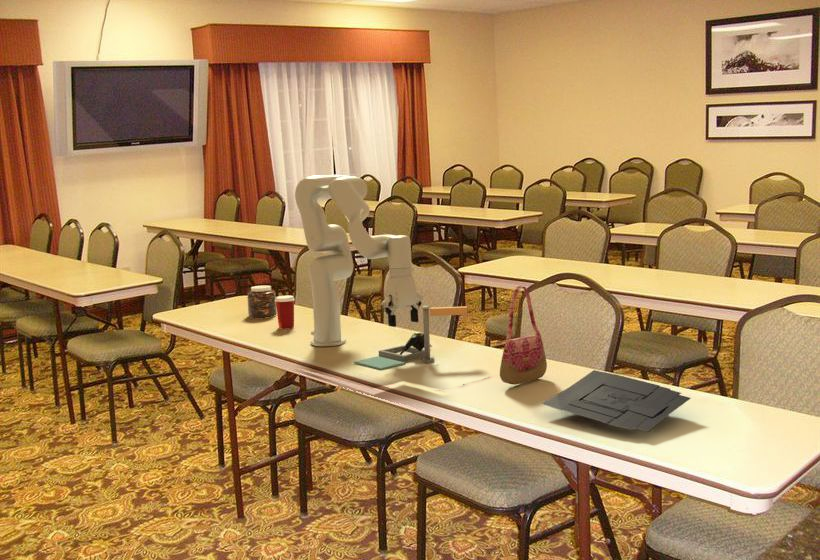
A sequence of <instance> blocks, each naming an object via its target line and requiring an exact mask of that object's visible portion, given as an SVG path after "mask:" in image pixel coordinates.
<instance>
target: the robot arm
mask: <svg viewBox="0 0 820 560" xmlns="http://www.w3.org/2000/svg"><path fill="white" fill-rule="evenodd" d="M367 194H368V185H367V184H366V182H365V180H363V179H362V178H361V177H359V176H350V175H341V174H340V175H338V174H327V175H326V174H325V175H321V174H320V175H311V176H306V177H304V178H302V179H301V180H300V181H299V182H298V183H297V185H296V187H295V192H294V198H295V199H294V200H295V202H296V206H297V209H298V212H299V214H300V218H301V223H302V228H303V233H304V237H305V241H306V245H307V248H308V250H309V251H310V252H312V253H315V254H316V253H317V254H318V253H327V252H329V254H327V255H320V256H317V257H315V258H313V259H312V260H310V262H309V264H308V268H307V273H308V278H309V280H310V281H309V282H310V287H311V295H312V296H311V297H312V308H313V309H312V310H313V311H312V312H313V331H311V332H310V335H312V336H313V339H311V340H310V345H312V346H314V347H336V346H340V345H343V344H345V343H346V341H347V339H346V338H345V337H343V336H342V326H341V325H342V324H341V307H340V306H341V305H340V294H339V290H338V288H337V285H336V284H335V282H337V281H341V280H345V279H346V280H347V279H348V278H350V277H351V276H352V274H353V271H354V263H353V262H354V261H353V256H352V251H351V247H350V242H349V239H350V241H351V243H352V245H353V246H354V247H355V249H356V251H357V252H358V253H359V254H360V256H362V257H364V258H365V259H367V260H376V259H380V258H381V259H382V258H387V259H388V270H389V277H388V278H387V281H386V288H385V289H386V292H385V299H384V300H381V303H380V305H381V307H382V310H383V311H384V312H385V314H386V315H387V324H388V327H393V328H394V327H395V328H396V327H397V317H396V316H397V315H396V314H395V313H396V311H397V310H398V309H402V308H406V307H407V308H411V309H410V311H409V313H410V322H411V323H419V311H420V307H421V306H422V302H423V299H424V296H423V295H422V294H419V293H417V288H416V287H417V286H416V282H415V278H414V275H413V272H414V270H415V269H414V268H413V267H412V263H413V262H412V248H411V246H412V245H411V238H410V237H409V235H404V234H401V235H393V234H379V235H370V234H369V232H368V231H367V229H365V227H364V225H363V221H365V219H367V217H368V216H369V214H370V212H371V211H370V210H371V208H370V206H369V205H368V204H367V202H366V201H365V200H364V199H365V198H366V196H367ZM330 199H331V200H333V202H334V203H335V204H336V205H337V207H338V208H339V210H340V211H341V212H342V214H343V215H344V217H345V218H346V219H347V222H348V229H347V230H348V235H347V232H346V231H345V229H344V228H343V227H342V226H341V225H340V224H339V225H338V224H328V222H327V217H326V213H325V211H324V209H323V207H322V206H321V205H320V203H319V202H318V201H319V200H330ZM348 236H349V238H348Z"/></svg>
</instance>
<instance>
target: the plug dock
mask: <svg viewBox="0 0 820 560" xmlns="http://www.w3.org/2000/svg"><path fill="white" fill-rule="evenodd" d="M422 320H423V333H424V348H423V349H422V350H421V351H419V350H417V349H416V348H414V347H413V346H411V347H410V348H409V349H408V350H407V351H406V352H410V353H408V354H404V355H403V354H402V355H400V353H398V352H402V351H403V348H404V346H405V345H404V344H403V345H399V346H394V347H389V348H384V349H380V350H378V356H379V357H383V358H388V359H392V360H396V361H401V362H405V363H406V362H412V361H414V360H417V359H420V361H421V362H420V363H423V364H430V363H434V362H435V358H432V357H431V351H430V349H431V347H430V344H431V343H430V341H431V340H430V308H429V309H422Z"/></svg>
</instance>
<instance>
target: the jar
mask: <svg viewBox="0 0 820 560" xmlns="http://www.w3.org/2000/svg"><path fill="white" fill-rule="evenodd" d="M276 297H277V296H276V291H275V290H272V286H271V285H255V286H251V287H250V291H248V292H247V312H248V313H247V314H248V318H249V317H252V318H251V319H254V318H263V319H266V318H265V317H270V318H272V317H271V316H274V315H276V314H277V307H276V301H275V300H276ZM276 316H277V315H276ZM274 317H275V316H274Z"/></svg>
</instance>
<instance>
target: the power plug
mask: <svg viewBox="0 0 820 560" xmlns="http://www.w3.org/2000/svg"><path fill="white" fill-rule="evenodd" d="M410 347H414V348H416V349H417V350H419V351H421V350H422V349H424V331H423V332H419V333H416V332H415V333H413V334H412V335H411V337H410V338H409V339H408V341H406V343H405V345H404V348H403V350H402V351H400V353H399V354H400V355H403V354H404V353H406V352H408V351H407V350H408V349H409V348H410ZM431 348H433V345H432V344H431V343H430V352H431V351H432V349H431Z"/></svg>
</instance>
